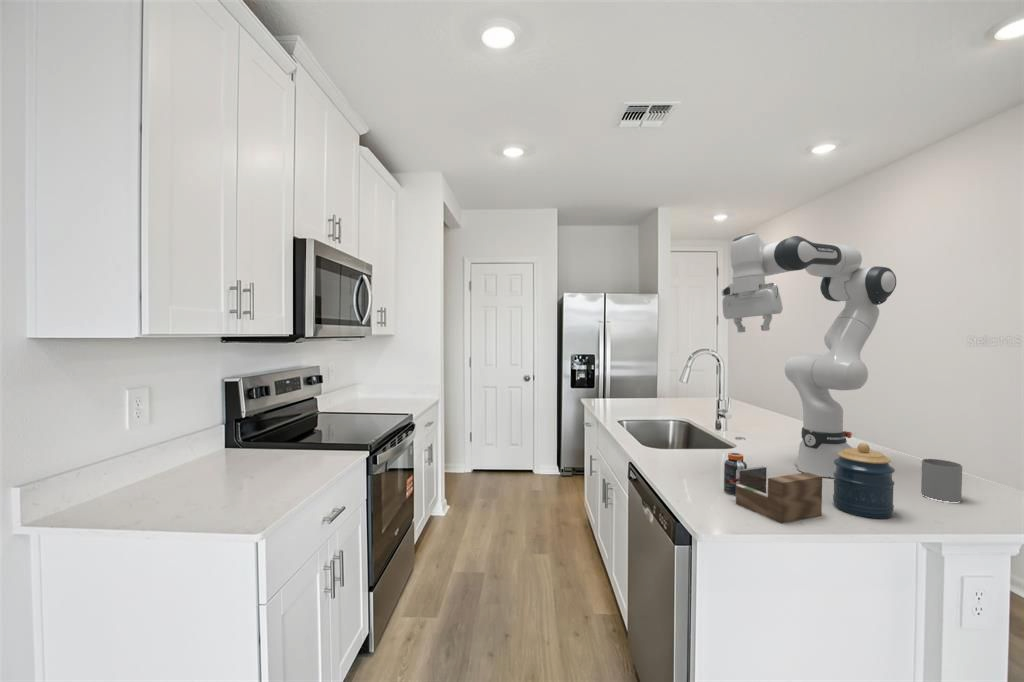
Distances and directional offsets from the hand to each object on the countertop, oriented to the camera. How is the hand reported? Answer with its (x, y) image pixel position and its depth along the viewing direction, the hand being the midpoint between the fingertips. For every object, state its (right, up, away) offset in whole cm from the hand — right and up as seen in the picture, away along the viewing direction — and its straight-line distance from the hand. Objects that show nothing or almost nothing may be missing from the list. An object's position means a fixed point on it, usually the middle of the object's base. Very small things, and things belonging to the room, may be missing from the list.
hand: (753, 331), depth 146 cm
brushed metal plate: (-8, -47, -13) cm, 49 cm away
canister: (+18, -48, -20) cm, 55 cm away
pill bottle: (-9, -47, -7) cm, 49 cm away
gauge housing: (-4, -47, -20) cm, 52 cm away
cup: (+47, -48, -12) cm, 68 cm away
